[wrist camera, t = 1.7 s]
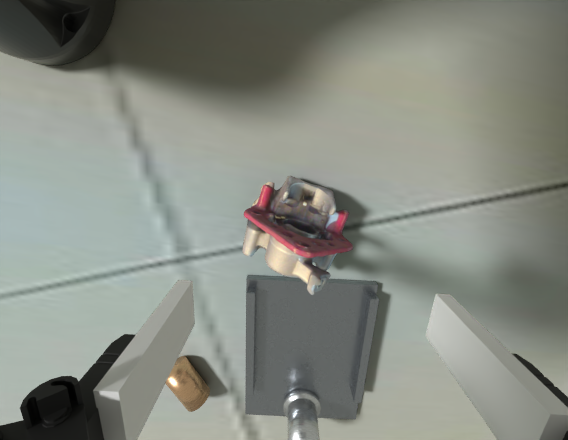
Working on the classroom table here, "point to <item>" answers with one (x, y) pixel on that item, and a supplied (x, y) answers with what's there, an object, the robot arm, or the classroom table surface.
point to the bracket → (307, 349)
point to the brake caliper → (297, 230)
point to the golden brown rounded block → (187, 384)
